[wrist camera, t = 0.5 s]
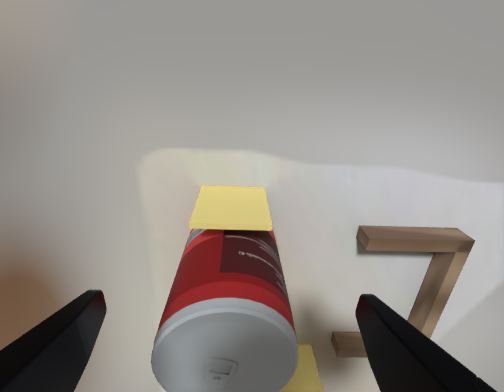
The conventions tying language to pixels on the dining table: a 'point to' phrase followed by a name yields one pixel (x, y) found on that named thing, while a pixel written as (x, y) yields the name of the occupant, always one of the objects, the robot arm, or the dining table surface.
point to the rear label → (231, 209)
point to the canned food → (227, 317)
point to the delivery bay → (435, 282)
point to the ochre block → (304, 373)
